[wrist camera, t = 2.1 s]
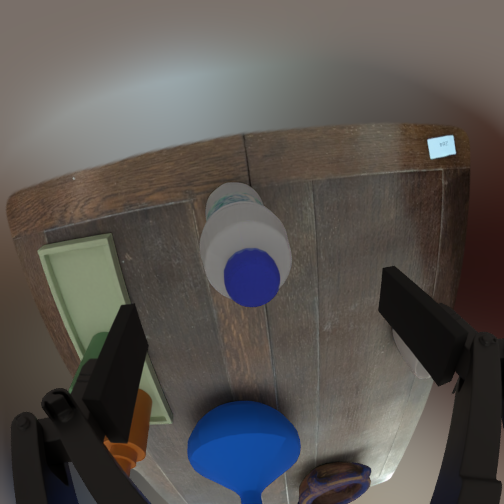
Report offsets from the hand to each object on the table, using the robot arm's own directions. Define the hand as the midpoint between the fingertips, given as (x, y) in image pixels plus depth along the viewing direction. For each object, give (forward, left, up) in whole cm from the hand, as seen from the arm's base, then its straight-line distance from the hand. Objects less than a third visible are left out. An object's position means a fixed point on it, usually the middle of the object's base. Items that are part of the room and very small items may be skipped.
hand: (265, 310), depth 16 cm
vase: (+36, -10, -23) cm, 44 cm away
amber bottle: (+25, -25, -22) cm, 41 cm away
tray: (+14, -23, -22) cm, 35 cm away
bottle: (0, 0, -23) cm, 23 cm away
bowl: (+69, +3, -23) cm, 73 cm away
